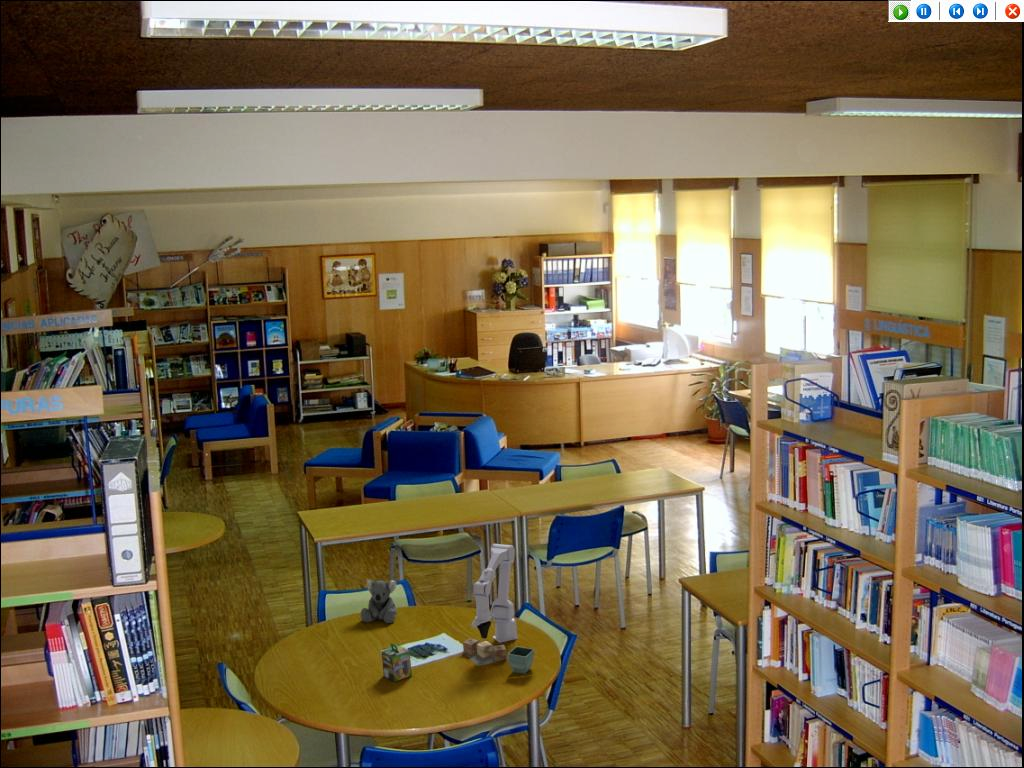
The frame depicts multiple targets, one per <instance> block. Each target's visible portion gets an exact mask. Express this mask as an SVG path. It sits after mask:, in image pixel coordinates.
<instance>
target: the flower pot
mask: <svg viewBox="0 0 1024 768" xmlns="http://www.w3.org/2000/svg"><path fill="white" fill-rule="evenodd" d="M534 655H535V649H534V648H530V647H529V648H528V647H523V646H515V647H513V648H512V649H511V650H510V651H509V652H508V654H507V657H508V658H509V659H508V663H509V666H510V669H511V670H512V671H513V673H517V674H526V673H527V672H529V670H530V669H531V667H532V665H533V662H534Z"/></svg>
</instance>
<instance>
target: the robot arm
mask: <svg viewBox="0 0 1024 768" xmlns="http://www.w3.org/2000/svg"><path fill="white" fill-rule="evenodd" d="M515 553H516V549H515V547H514V545H513V544H503V543H502V544H501V543H500V544H499V543H493V544H491V546H490V559H489V561H488V564H487V568H484V569H483V571H482V573H481V575H480V577H479V579H478V580H477V581H476V582H475V583H473V587H472V593H473V597H474V599H475V609H476V616H475V617H474V620H473V622H471V628H473V629H478V632H479V634H480V636H481V637H480V638H481V639H485V640H486V639H487V638H488V634H489V630H490V628H491V625H492V621H491V619H493V622H494V629H495V630H494V632H495V635H493V636H491V637H492V638H493V639H494V640H495V641H497V642H498V643H500V644H501V643H503V642H508V641H514V640H518V629H517V622H516V619H515V618H514V616H515V608H514V607H515V606H514V603H513V602H512V601H511V600H510V598H509V596H510V595H509V594H510V583H511V581H510V580H511V571H512V570H511V569H512V568H511V567H512V564H513V563H515V556H516V554H515ZM499 565H500V566H499ZM498 567H499V575H498V587H497V588H498V589H497V599H496V600H494V601H493V602H492V603H491V608H490V600H489V599H490V598H489V597H490V596H489V595H490V594H491V589H492V583H493V581H494V579H495V577H496V573H495V571H496V569H497V568H498Z"/></svg>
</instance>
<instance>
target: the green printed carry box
mask: <svg viewBox="0 0 1024 768" xmlns="http://www.w3.org/2000/svg"><path fill="white" fill-rule="evenodd" d="M381 659H382V660H381V661H382V670H383V671H382V672H383V673H382V674H383V677H385V678H387V680H390V681H391V682H393V683H396V682H398V681H401V680H404V679H406V678H409V677H412V676H413V672H412V660H411V650H409V649H407V648H406V647H403V646H400V645H396V644H395V643H391V642H390V647H389V648H387V649H384V650H382V651H381Z"/></svg>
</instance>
